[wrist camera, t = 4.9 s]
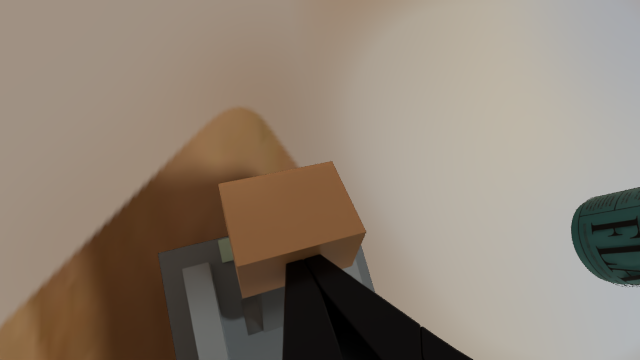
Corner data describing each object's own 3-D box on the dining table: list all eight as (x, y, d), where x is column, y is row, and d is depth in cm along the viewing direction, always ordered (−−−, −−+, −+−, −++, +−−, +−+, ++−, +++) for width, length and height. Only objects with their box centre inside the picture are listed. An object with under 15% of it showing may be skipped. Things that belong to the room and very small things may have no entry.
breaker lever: (326, 327, 15) (366, 231, 9) (251, 352, 14) (237, 266, 8) (308, 275, 16) (331, 161, 10) (239, 296, 15) (218, 183, 9)
